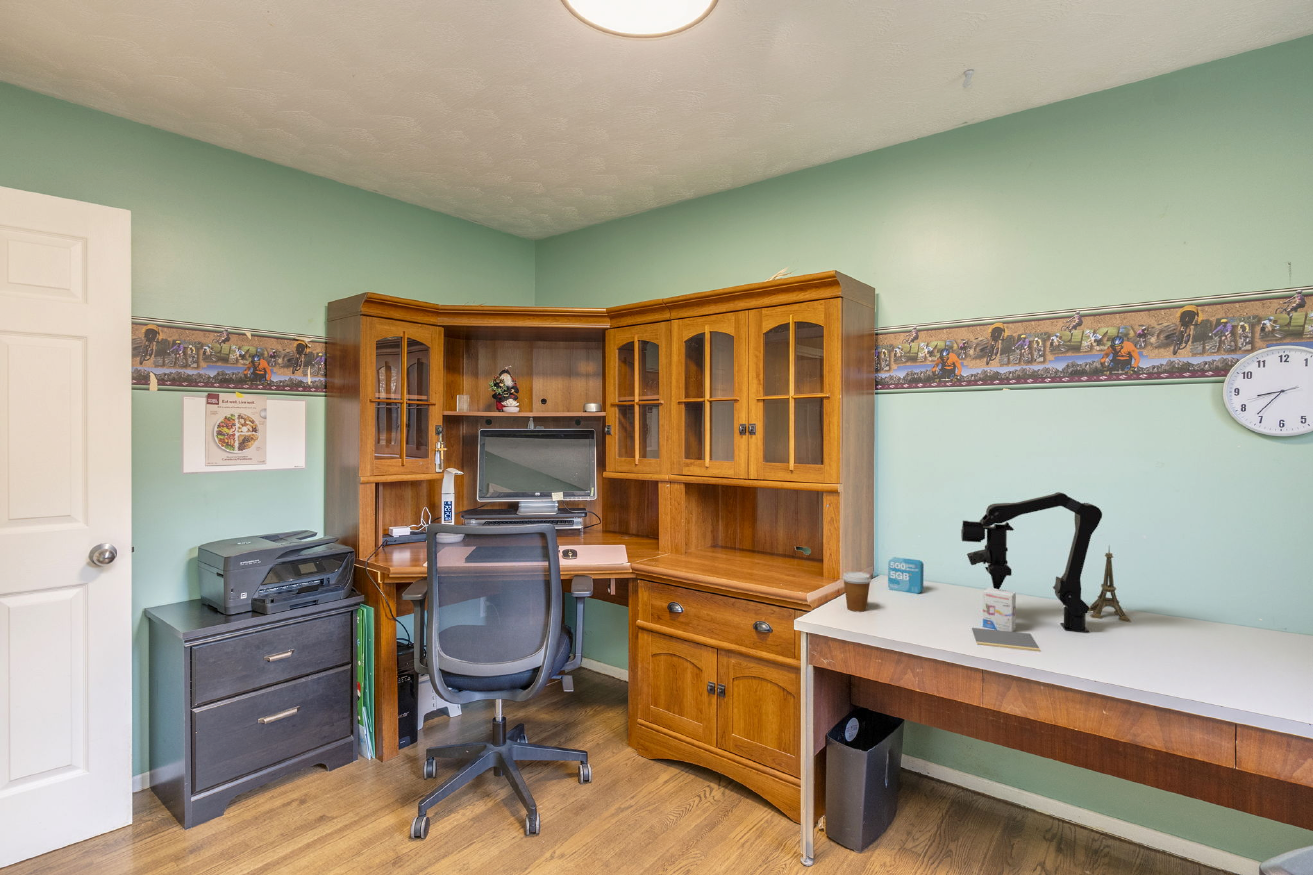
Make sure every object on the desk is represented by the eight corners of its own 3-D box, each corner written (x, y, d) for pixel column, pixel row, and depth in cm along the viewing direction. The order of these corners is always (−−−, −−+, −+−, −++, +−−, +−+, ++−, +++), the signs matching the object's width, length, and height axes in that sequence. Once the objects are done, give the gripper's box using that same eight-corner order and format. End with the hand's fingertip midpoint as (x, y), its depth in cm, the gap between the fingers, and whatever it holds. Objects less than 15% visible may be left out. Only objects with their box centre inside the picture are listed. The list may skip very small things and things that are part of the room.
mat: (971, 628, 201) (971, 627, 201) (1030, 634, 195) (1030, 633, 195) (977, 644, 187) (977, 642, 187) (1040, 651, 181) (1040, 649, 181)
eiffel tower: (1086, 609, 222) (1087, 537, 221) (1123, 613, 217) (1125, 539, 216) (1091, 618, 212) (1093, 542, 212) (1130, 622, 208) (1132, 545, 207)
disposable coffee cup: (851, 614, 216) (851, 578, 216) (837, 606, 226) (837, 572, 225) (876, 612, 219) (877, 577, 218) (861, 604, 228) (861, 570, 228)
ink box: (981, 627, 202) (982, 589, 202) (986, 623, 206) (986, 586, 206) (1011, 633, 197) (1012, 594, 196) (1015, 629, 201) (1016, 591, 200)
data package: (887, 589, 248) (888, 558, 248) (891, 587, 252) (891, 556, 251) (920, 594, 241) (920, 562, 241) (923, 591, 245) (923, 560, 244)
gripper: (966, 536, 220) (965, 582, 220) (971, 546, 202) (971, 596, 203) (1002, 538, 216) (1002, 585, 216) (1012, 549, 198) (1011, 599, 199)
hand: (996, 591), depth 208 cm, fingers closed
